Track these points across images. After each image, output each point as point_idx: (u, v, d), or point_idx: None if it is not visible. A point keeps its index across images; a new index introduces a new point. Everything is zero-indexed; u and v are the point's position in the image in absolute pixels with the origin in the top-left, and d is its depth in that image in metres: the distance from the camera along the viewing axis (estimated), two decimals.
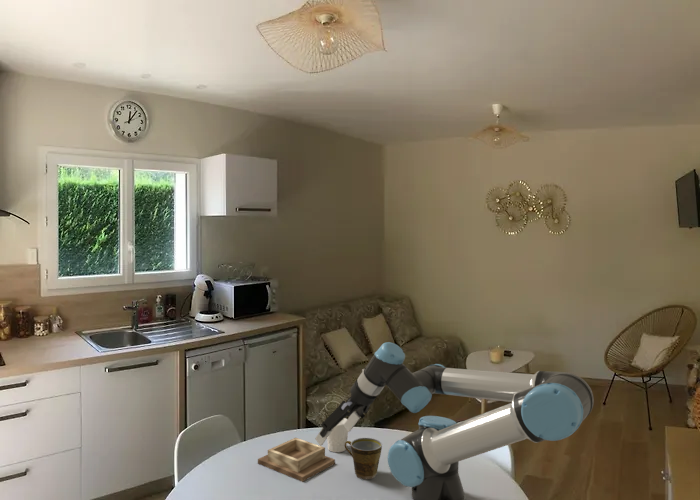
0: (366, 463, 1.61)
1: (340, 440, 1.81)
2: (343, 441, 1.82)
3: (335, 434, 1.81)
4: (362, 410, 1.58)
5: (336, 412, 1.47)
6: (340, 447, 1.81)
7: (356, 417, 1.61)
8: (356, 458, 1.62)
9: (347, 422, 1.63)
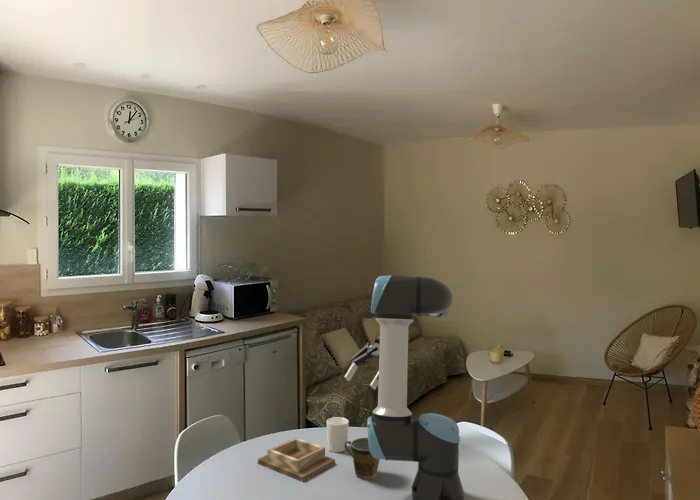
0: (366, 463, 1.61)
1: (340, 440, 1.81)
2: (343, 441, 1.82)
3: (335, 434, 1.81)
4: None
5: None
6: (340, 447, 1.81)
7: None
8: (356, 458, 1.62)
9: None
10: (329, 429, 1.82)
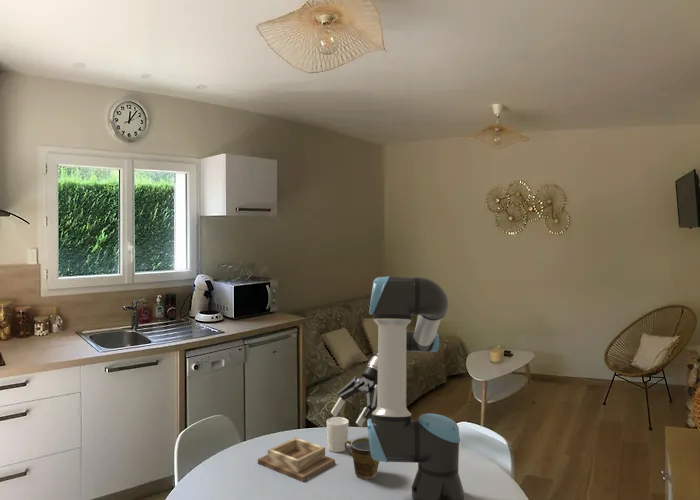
0: (366, 463, 1.61)
1: (340, 440, 1.81)
2: (343, 441, 1.82)
3: (335, 434, 1.81)
4: (368, 397, 1.88)
5: None
6: (340, 447, 1.81)
7: None
8: (356, 458, 1.62)
9: None
10: (329, 429, 1.82)
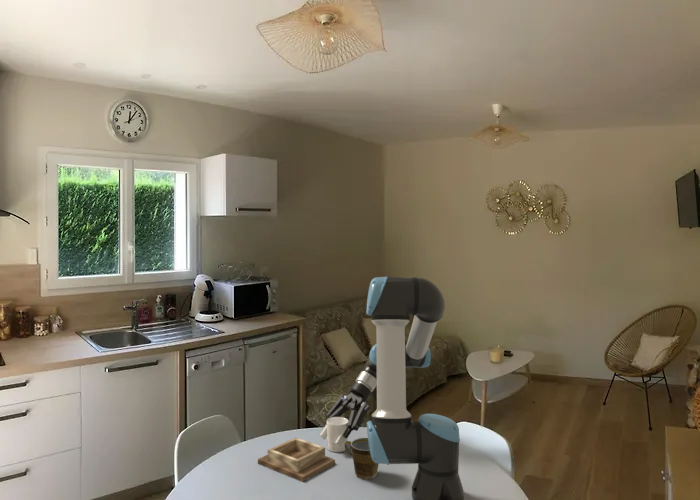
0: (366, 463, 1.61)
1: None
2: None
3: (335, 434, 1.81)
4: (352, 415, 1.84)
5: None
6: (340, 447, 1.81)
7: None
8: (356, 458, 1.62)
9: None
10: (329, 429, 1.82)
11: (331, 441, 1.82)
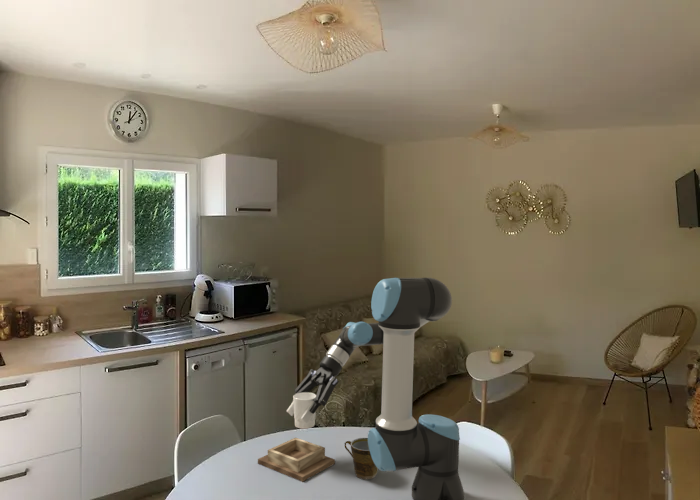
0: (366, 463, 1.61)
1: None
2: None
3: (302, 410, 1.71)
4: (319, 390, 1.74)
5: None
6: (306, 424, 1.72)
7: None
8: (356, 458, 1.62)
9: None
10: (295, 404, 1.73)
11: (297, 417, 1.72)
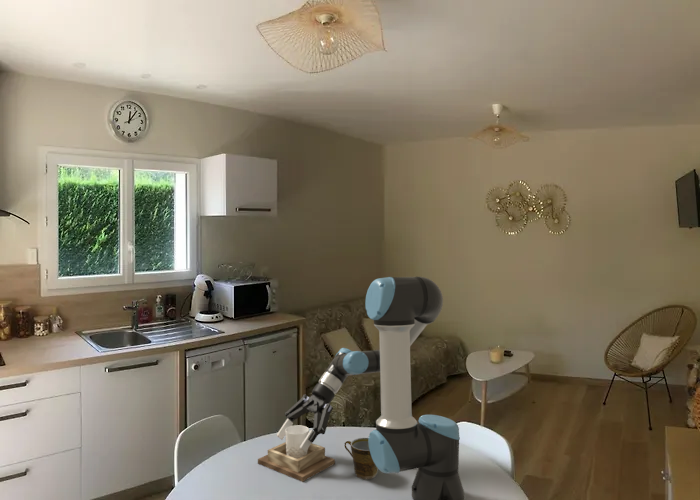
0: (366, 463, 1.61)
1: (299, 450, 1.69)
2: (302, 451, 1.69)
3: (294, 444, 1.68)
4: (316, 418, 1.71)
5: None
6: None
7: None
8: (356, 458, 1.62)
9: None
10: (287, 438, 1.69)
11: (290, 451, 1.69)
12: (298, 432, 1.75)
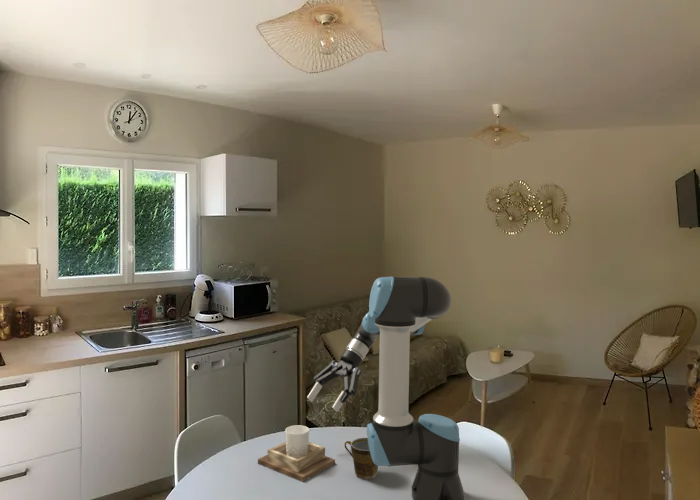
0: (366, 463, 1.61)
1: (299, 450, 1.69)
2: (302, 451, 1.69)
3: (294, 444, 1.68)
4: (346, 380, 1.79)
5: None
6: None
7: None
8: (356, 458, 1.62)
9: None
10: (287, 438, 1.69)
11: (290, 451, 1.69)
12: (298, 432, 1.75)
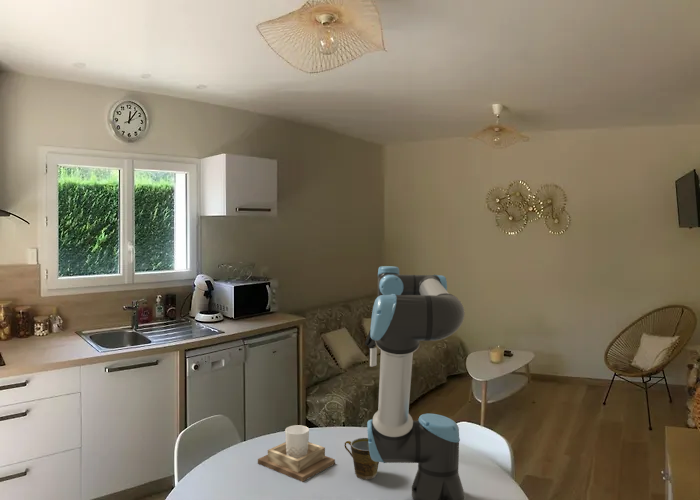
0: (366, 463, 1.61)
1: (299, 450, 1.69)
2: (302, 451, 1.69)
3: (294, 444, 1.68)
4: None
5: None
6: None
7: None
8: (356, 458, 1.62)
9: None
10: (287, 438, 1.69)
11: (290, 451, 1.69)
12: (298, 432, 1.75)
